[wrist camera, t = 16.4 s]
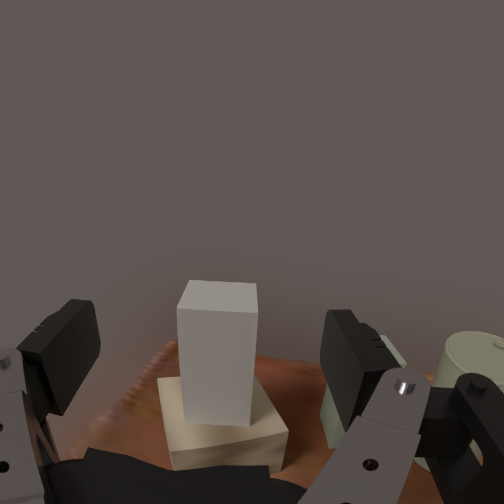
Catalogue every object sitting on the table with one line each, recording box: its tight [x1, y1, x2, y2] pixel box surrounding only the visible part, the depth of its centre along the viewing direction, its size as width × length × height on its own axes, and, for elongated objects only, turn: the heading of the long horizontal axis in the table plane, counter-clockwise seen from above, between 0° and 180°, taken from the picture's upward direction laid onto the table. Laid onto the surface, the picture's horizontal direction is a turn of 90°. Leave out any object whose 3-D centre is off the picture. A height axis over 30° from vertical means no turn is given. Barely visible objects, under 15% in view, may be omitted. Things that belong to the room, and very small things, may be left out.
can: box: [414, 331, 504, 472], centre depth 23 cm, size 9×9×12 cm
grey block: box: [177, 280, 258, 427], centre depth 23 cm, size 5×5×10 cm
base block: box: [157, 374, 289, 474], centre depth 25 cm, size 9×9×6 cm
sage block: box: [319, 335, 407, 449], centre depth 27 cm, size 5×5×10 cm
